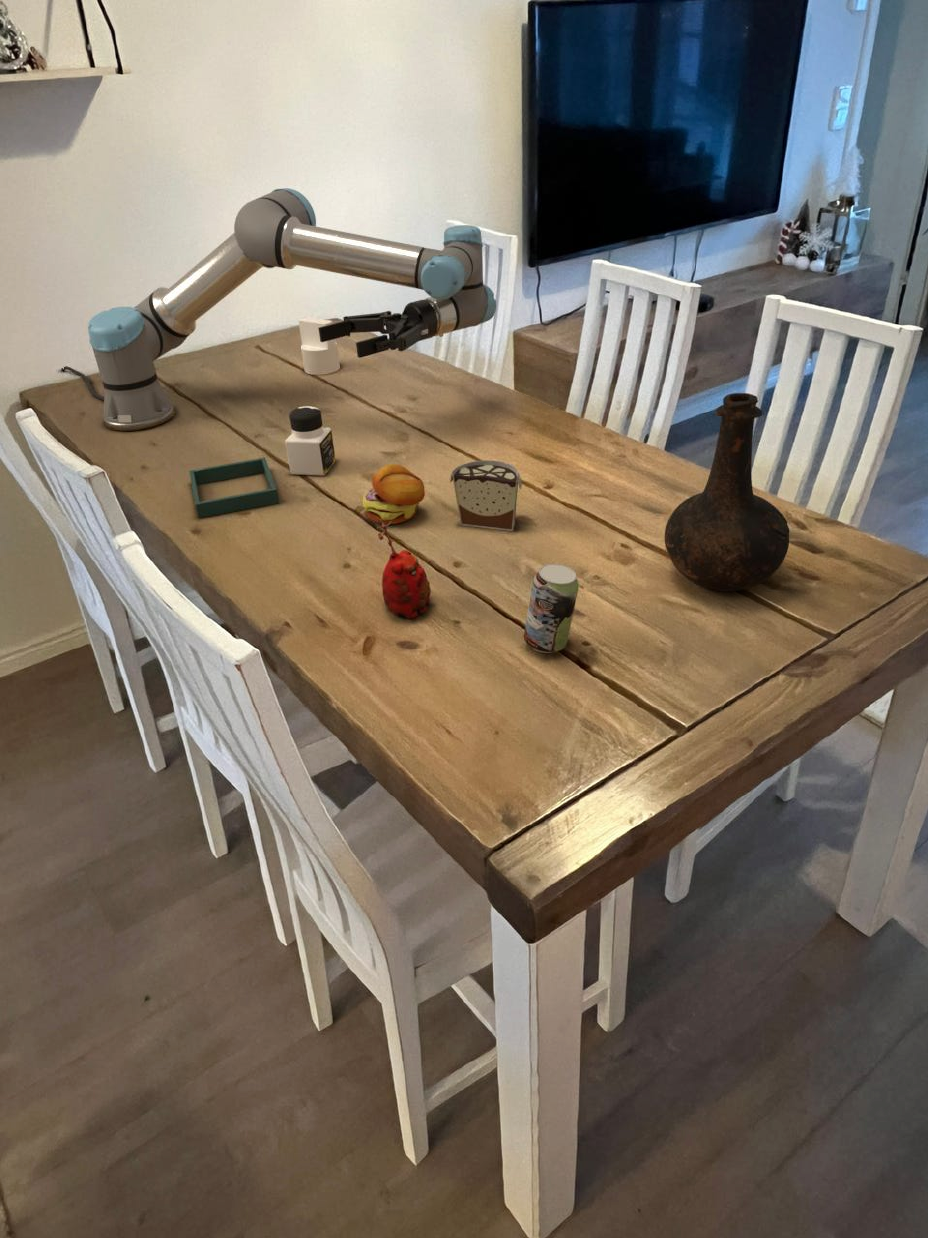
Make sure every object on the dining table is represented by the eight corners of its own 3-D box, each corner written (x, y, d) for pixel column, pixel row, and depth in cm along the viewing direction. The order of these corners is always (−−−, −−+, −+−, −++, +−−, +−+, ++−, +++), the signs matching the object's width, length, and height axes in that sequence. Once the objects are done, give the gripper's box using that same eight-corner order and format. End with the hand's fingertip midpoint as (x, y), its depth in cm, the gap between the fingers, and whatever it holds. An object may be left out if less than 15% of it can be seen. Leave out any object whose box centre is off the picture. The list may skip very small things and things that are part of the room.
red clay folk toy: (424, 623, 131) (416, 532, 123) (377, 620, 132) (366, 530, 124) (435, 594, 137) (427, 506, 129) (390, 592, 139) (380, 505, 130)
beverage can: (521, 634, 127) (519, 561, 121) (572, 630, 128) (574, 556, 121) (527, 661, 122) (526, 586, 116) (581, 656, 123) (583, 580, 116)
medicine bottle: (324, 476, 175) (315, 417, 168) (290, 474, 176) (279, 416, 170) (336, 460, 181) (328, 403, 174) (302, 459, 182) (293, 402, 175)
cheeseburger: (379, 496, 166) (386, 448, 160) (430, 517, 164) (439, 470, 157) (350, 519, 159) (356, 470, 152) (403, 542, 156) (411, 493, 150)
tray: (192, 483, 175) (189, 470, 174) (267, 470, 179) (265, 457, 177) (198, 518, 163) (195, 504, 161) (279, 503, 166) (276, 489, 165)
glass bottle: (762, 619, 127) (791, 432, 112) (643, 588, 136) (655, 410, 120) (796, 561, 140) (828, 385, 124) (685, 536, 148) (701, 368, 132)
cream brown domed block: (531, 515, 157) (530, 462, 151) (521, 532, 152) (520, 477, 147) (464, 508, 161) (461, 455, 155) (452, 524, 156) (449, 470, 150)
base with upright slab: (347, 365, 229) (341, 317, 223) (324, 376, 223) (317, 327, 217) (320, 361, 234) (313, 313, 227) (297, 371, 228) (289, 323, 221)
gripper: (467, 350, 176) (376, 377, 165) (395, 324, 192) (308, 347, 182) (465, 310, 172) (372, 336, 161) (391, 288, 188) (302, 309, 178)
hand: (338, 342), depth 172 cm, fingers open, 13 cm apart
